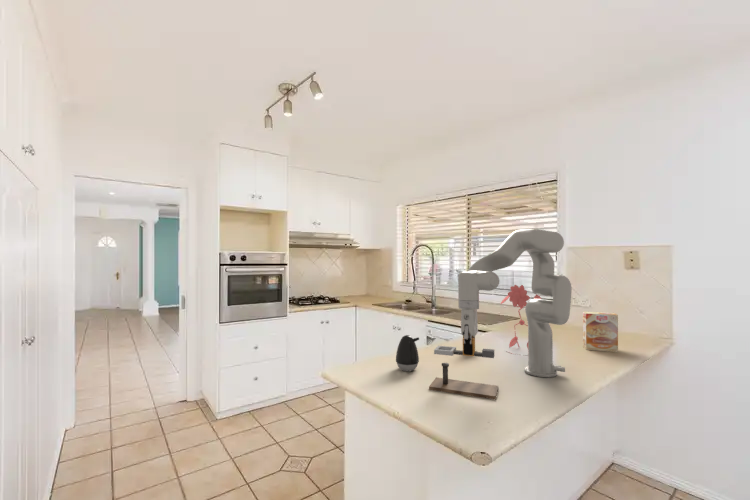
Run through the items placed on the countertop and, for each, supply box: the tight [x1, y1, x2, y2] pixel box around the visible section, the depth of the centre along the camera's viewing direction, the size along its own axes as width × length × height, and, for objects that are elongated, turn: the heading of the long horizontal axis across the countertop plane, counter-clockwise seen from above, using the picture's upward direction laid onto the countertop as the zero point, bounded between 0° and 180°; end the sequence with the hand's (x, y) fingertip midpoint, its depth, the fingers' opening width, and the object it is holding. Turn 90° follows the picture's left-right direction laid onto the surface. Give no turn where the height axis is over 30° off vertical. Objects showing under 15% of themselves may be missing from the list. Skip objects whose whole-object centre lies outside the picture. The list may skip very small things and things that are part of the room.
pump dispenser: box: [395, 334, 420, 372], centre depth 160 cm, size 10×10×15 cm
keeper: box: [428, 362, 499, 401], centre depth 136 cm, size 24×11×9 cm, turn 66°
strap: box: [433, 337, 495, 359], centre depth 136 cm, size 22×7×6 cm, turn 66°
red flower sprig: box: [500, 284, 542, 357], centre depth 190 cm, size 15×26×35 cm, turn 32°
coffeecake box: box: [582, 311, 619, 353], centre depth 192 cm, size 15×7×20 cm, turn 73°
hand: (469, 352), depth 136 cm, fingers closed on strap, 3 cm apart
